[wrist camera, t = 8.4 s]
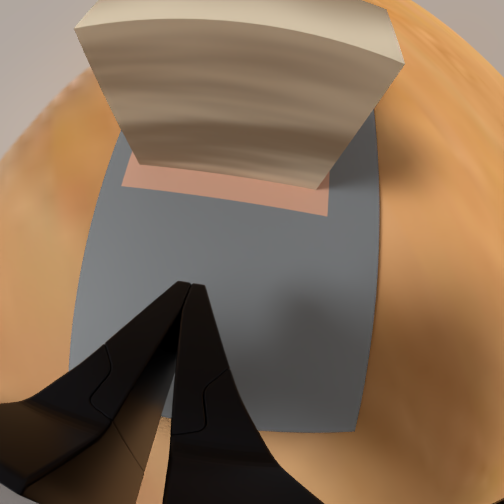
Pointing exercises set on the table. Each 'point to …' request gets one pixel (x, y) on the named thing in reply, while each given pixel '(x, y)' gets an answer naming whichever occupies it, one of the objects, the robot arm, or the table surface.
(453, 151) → the table surface
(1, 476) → the robot arm
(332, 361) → the slate board
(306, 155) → the maple T block
